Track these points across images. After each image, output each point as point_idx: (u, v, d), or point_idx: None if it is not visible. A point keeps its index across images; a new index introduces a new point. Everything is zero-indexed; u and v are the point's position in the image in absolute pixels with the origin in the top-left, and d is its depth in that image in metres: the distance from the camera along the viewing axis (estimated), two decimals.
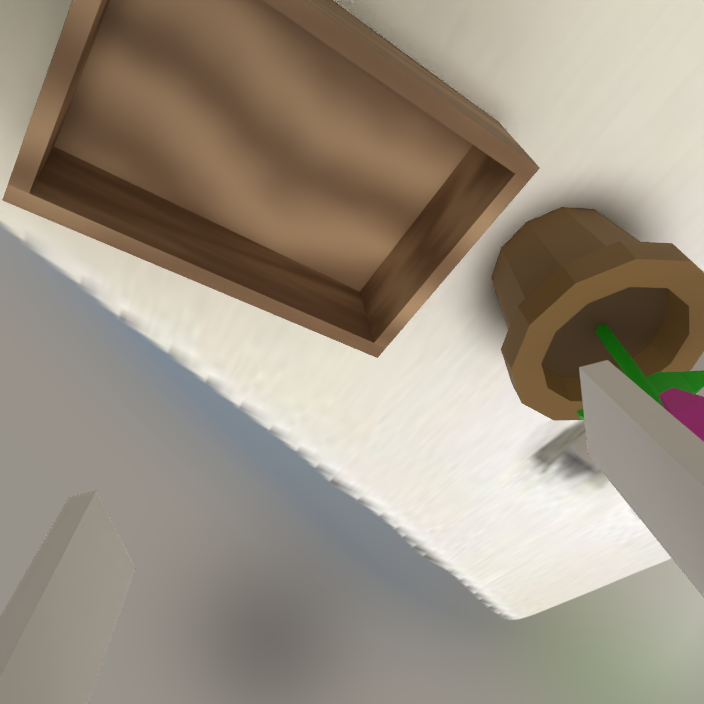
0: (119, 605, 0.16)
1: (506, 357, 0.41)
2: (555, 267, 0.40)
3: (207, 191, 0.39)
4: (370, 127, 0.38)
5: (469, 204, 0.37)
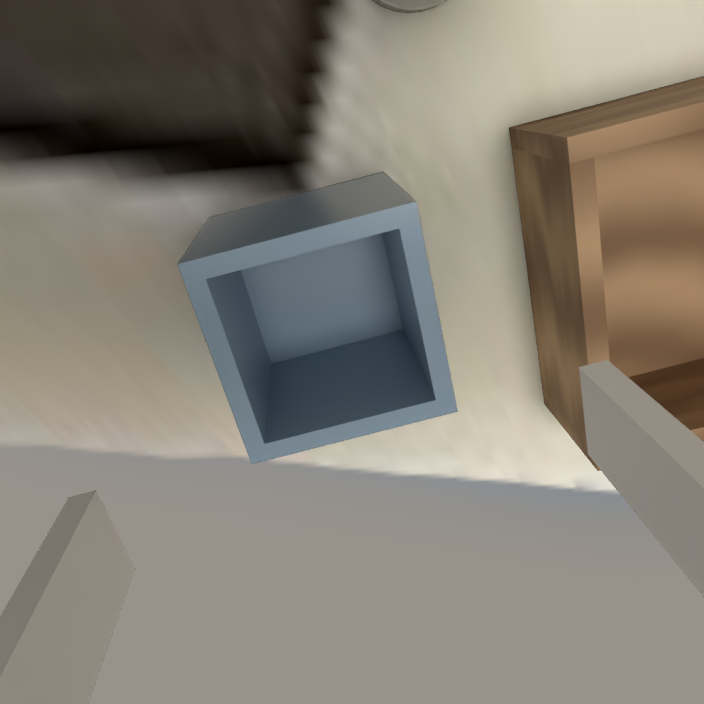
0: (119, 605, 0.16)
1: None
2: None
3: None
4: None
5: None
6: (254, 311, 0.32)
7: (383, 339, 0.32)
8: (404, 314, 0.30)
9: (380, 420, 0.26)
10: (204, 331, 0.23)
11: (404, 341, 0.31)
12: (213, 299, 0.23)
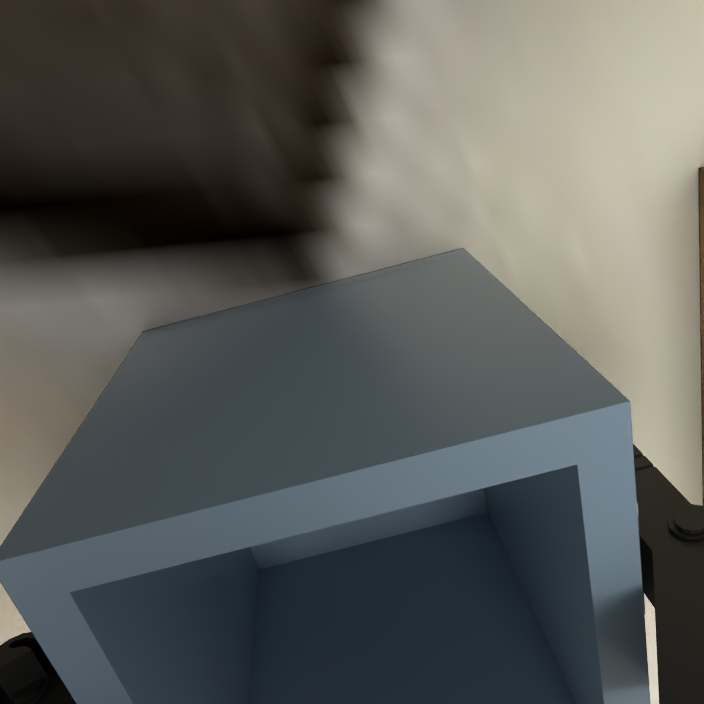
0: None
1: None
2: None
3: None
4: None
5: None
6: None
7: (454, 534, 0.18)
8: (505, 517, 0.16)
9: None
10: (77, 695, 0.09)
11: (496, 548, 0.18)
12: (95, 628, 0.09)
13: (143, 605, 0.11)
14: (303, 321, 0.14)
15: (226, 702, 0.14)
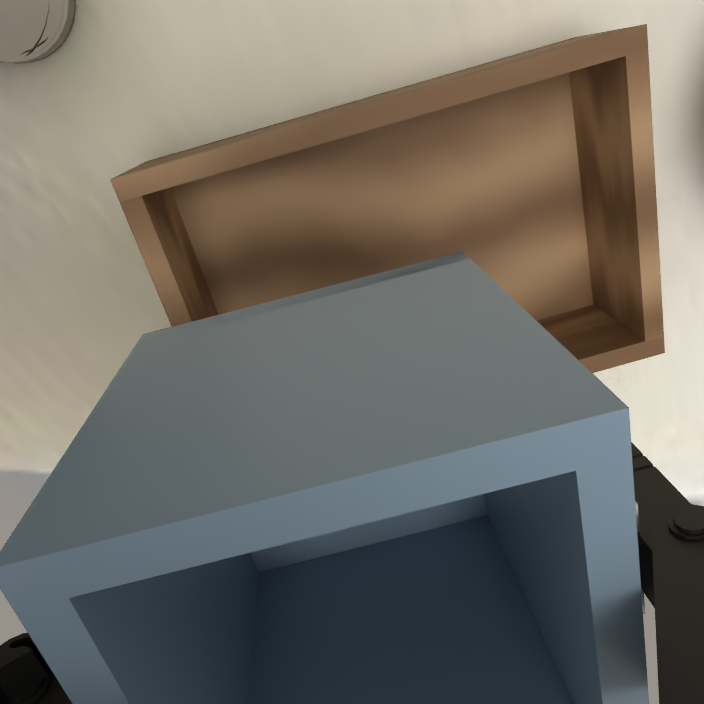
0: None
1: None
2: None
3: None
4: (460, 162, 0.33)
5: (612, 129, 0.29)
6: None
7: (454, 536, 0.18)
8: (504, 520, 0.16)
9: None
10: (76, 700, 0.09)
11: (495, 551, 0.18)
12: (94, 634, 0.09)
13: (142, 610, 0.11)
14: (302, 325, 0.14)
15: None
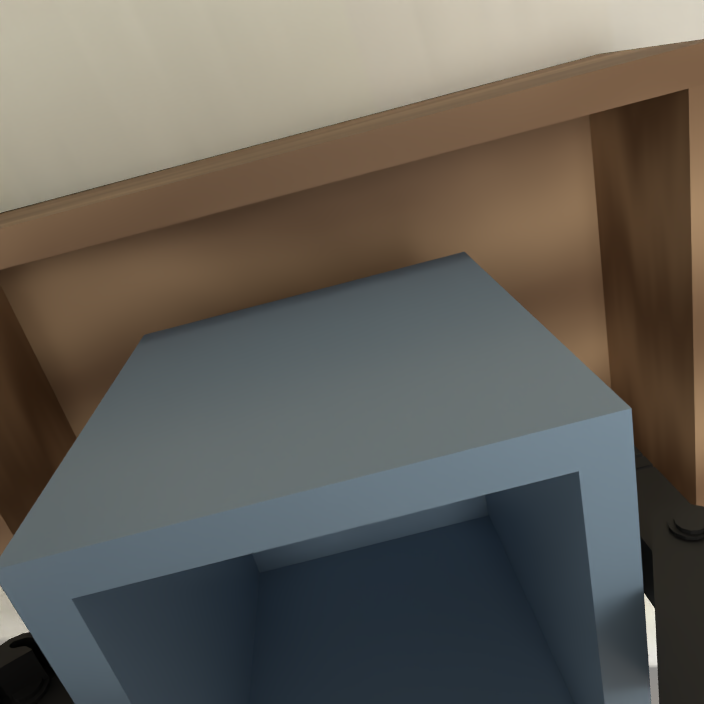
0: None
1: None
2: None
3: None
4: (425, 234, 0.23)
5: (656, 200, 0.19)
6: None
7: (455, 537, 0.18)
8: (506, 521, 0.16)
9: None
10: (79, 701, 0.09)
11: (497, 551, 0.18)
12: (97, 634, 0.09)
13: (144, 610, 0.11)
14: (304, 325, 0.14)
15: None
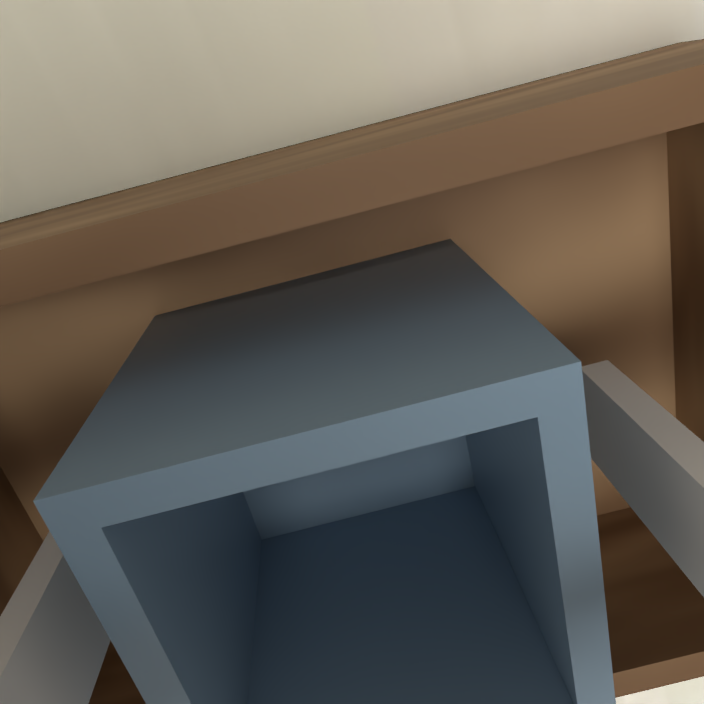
0: None
1: None
2: None
3: None
4: None
5: None
6: None
7: (443, 505, 0.20)
8: (488, 486, 0.17)
9: None
10: (105, 622, 0.11)
11: (481, 517, 0.19)
12: (122, 561, 0.10)
13: (160, 550, 0.12)
14: (302, 304, 0.16)
15: (232, 648, 0.15)
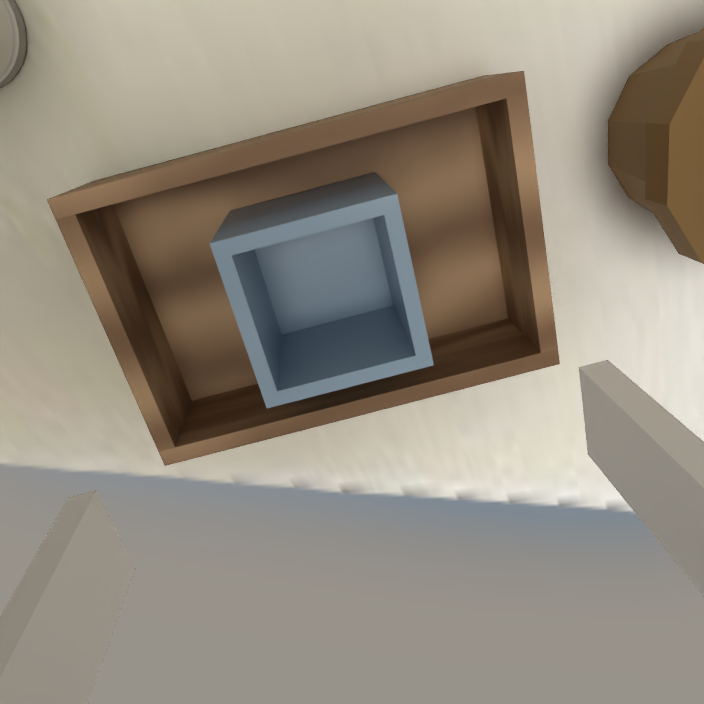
0: (119, 605, 0.16)
1: (688, 256, 0.31)
2: None
3: None
4: None
5: (504, 161, 0.33)
6: (267, 289, 0.38)
7: (375, 313, 0.38)
8: (392, 290, 0.36)
9: (371, 372, 0.32)
10: (230, 297, 0.29)
11: (393, 314, 0.37)
12: (237, 271, 0.29)
13: (246, 283, 0.31)
14: (302, 197, 0.34)
15: (271, 349, 0.34)
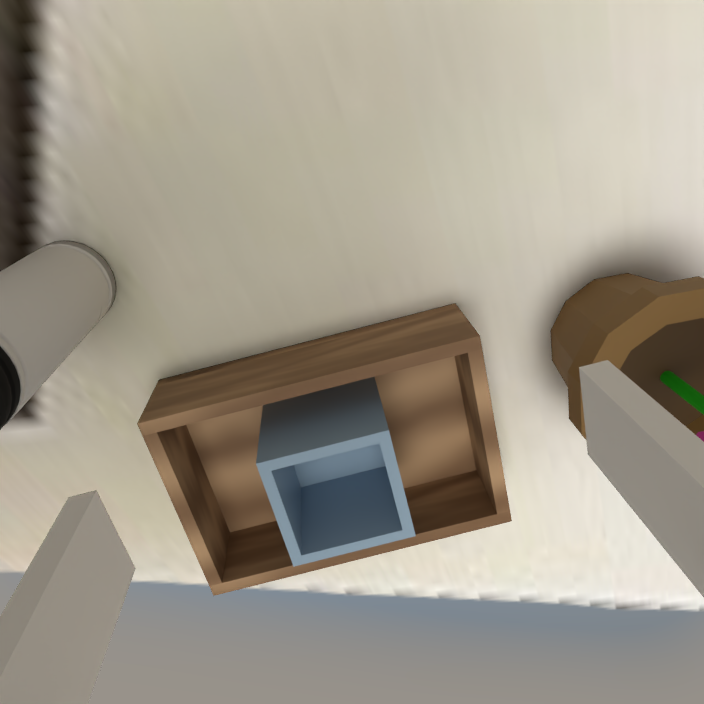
0: (119, 605, 0.16)
1: None
2: None
3: None
4: (376, 382, 0.48)
5: (468, 382, 0.44)
6: None
7: (373, 473, 0.50)
8: None
9: (370, 541, 0.43)
10: (269, 496, 0.41)
11: (387, 477, 0.49)
12: (274, 480, 0.41)
13: (279, 480, 0.42)
14: (319, 401, 0.46)
15: (296, 516, 0.45)
